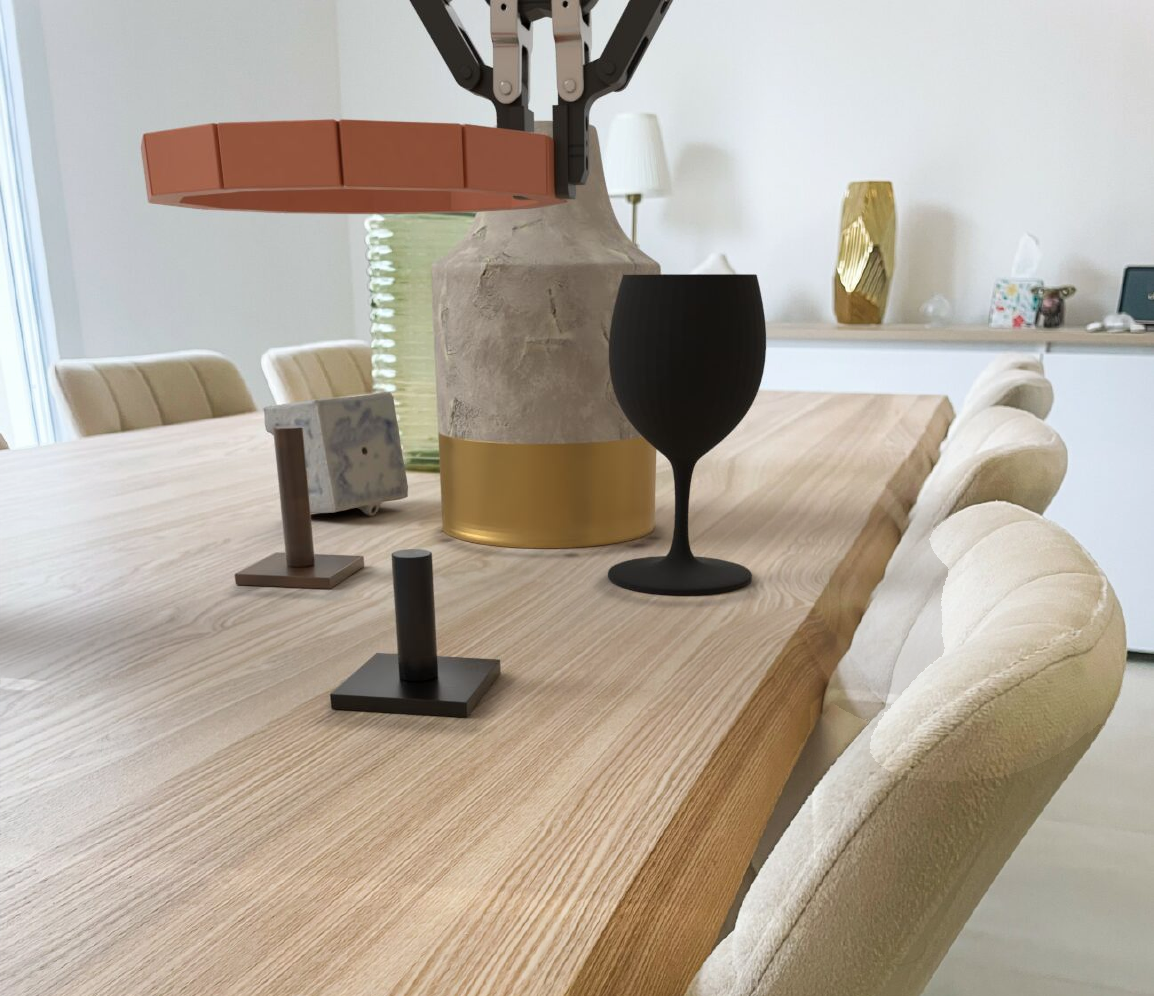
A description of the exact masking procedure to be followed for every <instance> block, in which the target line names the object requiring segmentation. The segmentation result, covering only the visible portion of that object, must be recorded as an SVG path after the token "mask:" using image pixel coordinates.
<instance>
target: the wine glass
mask: <svg viewBox="0 0 1154 996" xmlns="http://www.w3.org/2000/svg"><path fill="white" fill-rule="evenodd" d="M764 310H765V309H764V303H763V298H762V292H761V287H760V283H759V278H758V275H757V274H755V273H753V274H751V273H747V274H745V273H743V274H741V273H732V274H730V273H723V274H721V273H718V274H717V273H714V274H713V273H712V274H707V273H706V274H703V273H696V274H695V273H694V274H693V273H689V274H686V273H684V274H683V273H681V274H680V273H678V274H677V273H676V274H675V273H673V274H672V273H671V274H670V273H668V274H666V273H664V274H663V273H661V274H653V275H623V277H622V280H621V283H620V286H619V290H618V294H617V298H616V302H615V306H614V311H613V316H612V321H611V328H610V337H609V368H610V376H611V381H612V385H613V389H614V392H615V395H616V398H617V400H618V403H619V405H620V407H621V409H622V411H623V413H624V414H625V416H626V417H627V419H628V420H629V421H630V423H631V424H632V425H633V427H634V428H635V429H636V430H637V431H638V432H639V433H640V434H641V435H642V436H643V437H644V438H645V439H646V440H647V441H648V442H649V443H650V444H651V445H652V446H653V447H654V448H656V451H658V452H659V453H660V454H661V455H663V456H664V457H665V458H666V459H667V460H668V461H669V463H670V466H671V468H672V475H673V483H674V520H673V521H674V524H673V532H672V541H671V546H670V548H669V551H668V552H667V554H666V555H659V556H658V555H656V556H655V555H654V556H646V557H640V558H639V557H638V558H632V559H629V560H624V561H621V562H618V563H615V564H614V565H612V566H611V567H610V568H609V569H608V572H607V579H608V580H609V581H610V582H611V583H612V584H614V585H615V586H618V587H621V588H623V589H627V590H630V591H634V592H640V593H647V594H654V595H665V596H704V595H714V594H722V593H723V594H724V593H729V592H733V591H736V590H740V589H742V588H744V587H746V586H748V585H749V584H750V583H751V582H752V579H753V575H752V571H751V570H750V569H749V568H748V567H746V566H744V565H741V564H739V563H736V562H733V561H729V560H725V559H719V558H714V557H713V558H712V557H708V556H707V557H705V556H695V555H694V554H693V552H692V550H691V545H690V538H689V508H690V493H691V485H692V478H693V473H694V469H695V466H696V465H697V463H698V461H699V460H701V458H703V457H704V456H706V455H707V454H708V453H709V452H710V451H711V450H713V449H714V448H715V447H717V445H719V444H720V443H721V442H723V441H724V440H725V439H726V438H727V437H728V436H729V435H730V434H731V433H732V432H733V431H734V430H735V429H736V428H737V427H738V425H740V423H741V422H742V421H743V420H744V418H745V416H746V415H747V414H748V412H749V411H750V409H751V407H752V405H753V404H754V402H755V401H756V398H757V395H758V392H759V390H760V387H761V383H762V379H763V377H764V372H765V366H766V365H765V364H766V357H767V356H766V355H767V327H766V316H765V311H764Z"/></svg>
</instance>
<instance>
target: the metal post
mask: <svg viewBox="0 0 1154 996" xmlns="http://www.w3.org/2000/svg"><path fill="white" fill-rule="evenodd" d="M433 565H434V564H433V553H432V551H430V550H428V549H421V548H409V549H408V548H406V549H399V550H396V551H394V552H392V553H391V569H392V571H391V572H392V585H393V601H394V616H395V617H394V618H395V631H396V647H397V653H387V652H386V653H385V652H376V653H375V654H374V655H372V657H370V658H369V659H368V660H367V661H366V662H364V664H363V665H361V666H360V667H359V668H358V669H357V670H356V671H354V672H353V673H352V674H351V675H350V676H349V677H348V678H347V679H345V680H344V681H343V682H342V683H341V684H340V685H338V686H337V687H336V688H335V689H334V690H333V691H332V692H331V693H330V694H329V699H330V700H329V701H330V708H331V709H332V710H341V711H357V712H358V711H359V712H360V711H361V712H374V713H375V712H378V713H391V714H405V715H406V714H407V715H410V714H411V715H422V716H423V715H424V716H439V717H440V716H441V717H453V718H454V717H456V718H468V717H469V715H470V714H471V713H472V712H473V710H474V709H475V707H476V706H477V705H478V703H479V702H480V701H481V699H482V698H483V697H484V696H485V695H486V693H487V691H488V690H489V689H490V688H491V686H492V685H493V684H494V682H495V681H496V680H497V678H498V677H499V676H500V675H501V659H498V658H483V657H482V658H478V657H462V656H461V657H459V656H443V655H438V646H437V627H436V606H435V588H434V587H435V586H434V585H435V584H434V568H433V567H434V566H433Z"/></svg>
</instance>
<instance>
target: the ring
mask: <svg viewBox="0 0 1154 996" xmlns="http://www.w3.org/2000/svg"><path fill="white" fill-rule="evenodd" d="M140 153H141V161H142V169H143V175H144V182H145V190H146V191H145V192H146V197H147V202H148V203H149V204H152V205H153V204H154V205H161V206H169V207H177V208H184V209H185V208H186V209H194V210H202V211H205V210H206V211H222V212H223V211H226V212H228V211H229V212H246V213H249V212H250V213H269V214H309V215H310V214H311V215H313V214H315V215H319V214H320V215H326V214H327V215H411V214H413V215H414V214H461V213H464V214H465V213H466V214H467V213H477V212H484V211H501V210H517V209H531V208H540V207H545V206H550V205H556V204H561V203H566V202H567V201H568V199H558V198H555V189H554V140H553V138H551V137H549V136H548V135H545V134H539V133H531V132H524V131H516V130H509V129H501V128H494V126H493V127H492V126H485V125H477V124H471V123H462V124H461V123H455V122H430V121H403V120H400V121H399V120H378V119H377V120H376V119H375V120H374V119H354V118H353V119H351V118H350V119H349V118H341V119H339V120H337V119H335V118H324V119H323V118H322V119H319V118H318V119H292V120H291V119H290V120H288V119H287V120H261V121H260V120H258V121H228V122H227V121H226V122H218V123H216V122H209V123H204V124H197V125H191V126H183V127H178V128H177V127H175V128H171V129H164V130H157V131H151V132H150V131H149V132H146V133H143V134H142V138H141V142H140ZM513 196H523V197H526V198H529V199H532V200H517V199H514V198H513Z"/></svg>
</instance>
